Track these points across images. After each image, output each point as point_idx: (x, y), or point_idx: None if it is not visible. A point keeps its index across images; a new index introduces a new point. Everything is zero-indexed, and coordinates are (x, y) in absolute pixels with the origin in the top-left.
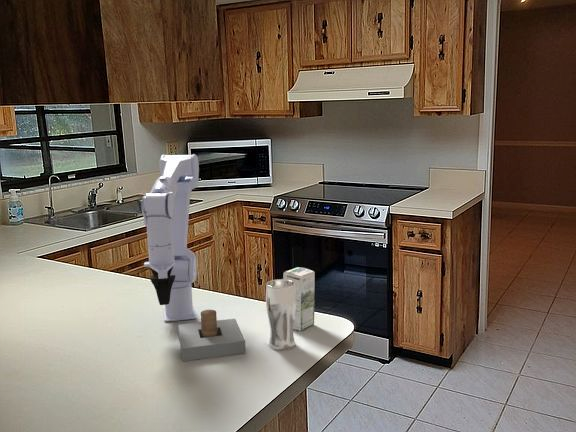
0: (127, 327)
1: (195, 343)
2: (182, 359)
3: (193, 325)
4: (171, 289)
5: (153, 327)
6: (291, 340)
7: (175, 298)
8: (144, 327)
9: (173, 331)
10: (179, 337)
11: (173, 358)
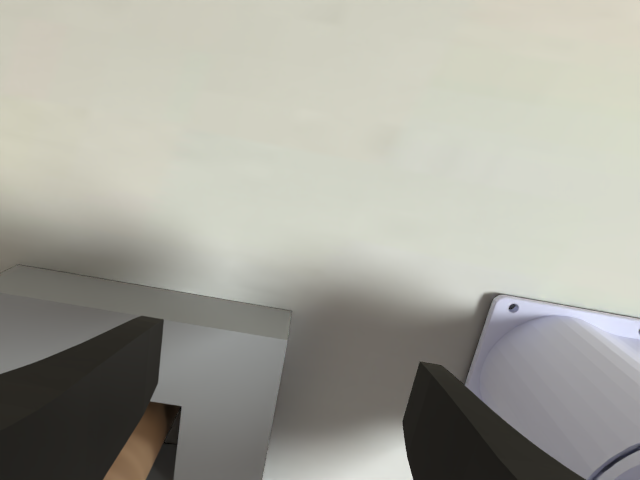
0: (545, 102)
1: (12, 355)
2: (25, 267)
3: (243, 400)
4: (598, 456)
5: (464, 229)
6: None
7: (544, 425)
8: (491, 187)
9: (362, 302)
10: (217, 309)
11: (60, 236)
